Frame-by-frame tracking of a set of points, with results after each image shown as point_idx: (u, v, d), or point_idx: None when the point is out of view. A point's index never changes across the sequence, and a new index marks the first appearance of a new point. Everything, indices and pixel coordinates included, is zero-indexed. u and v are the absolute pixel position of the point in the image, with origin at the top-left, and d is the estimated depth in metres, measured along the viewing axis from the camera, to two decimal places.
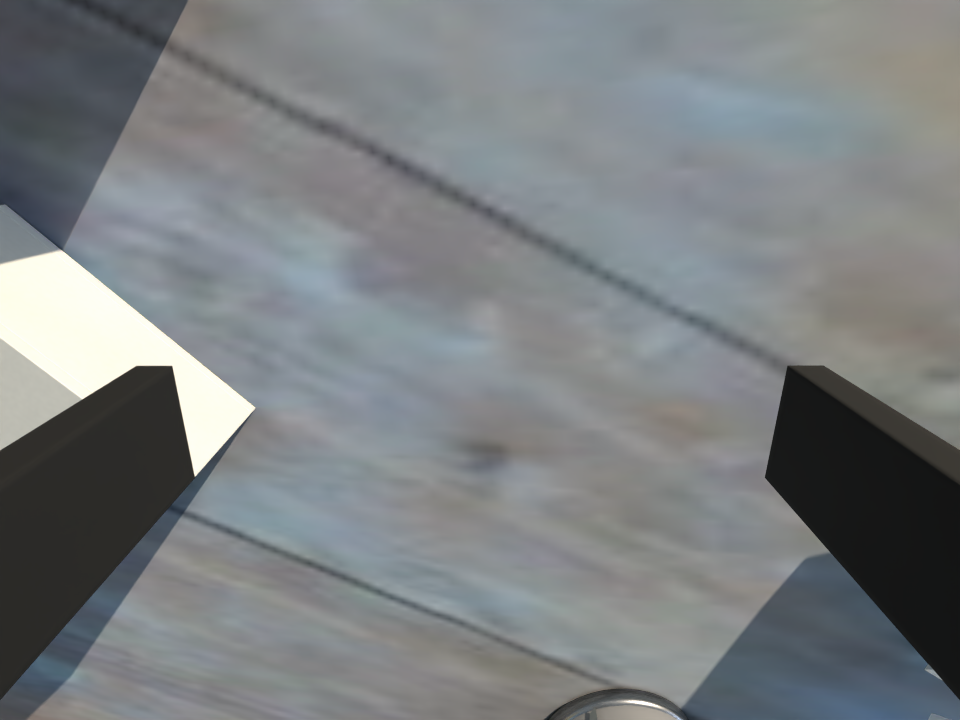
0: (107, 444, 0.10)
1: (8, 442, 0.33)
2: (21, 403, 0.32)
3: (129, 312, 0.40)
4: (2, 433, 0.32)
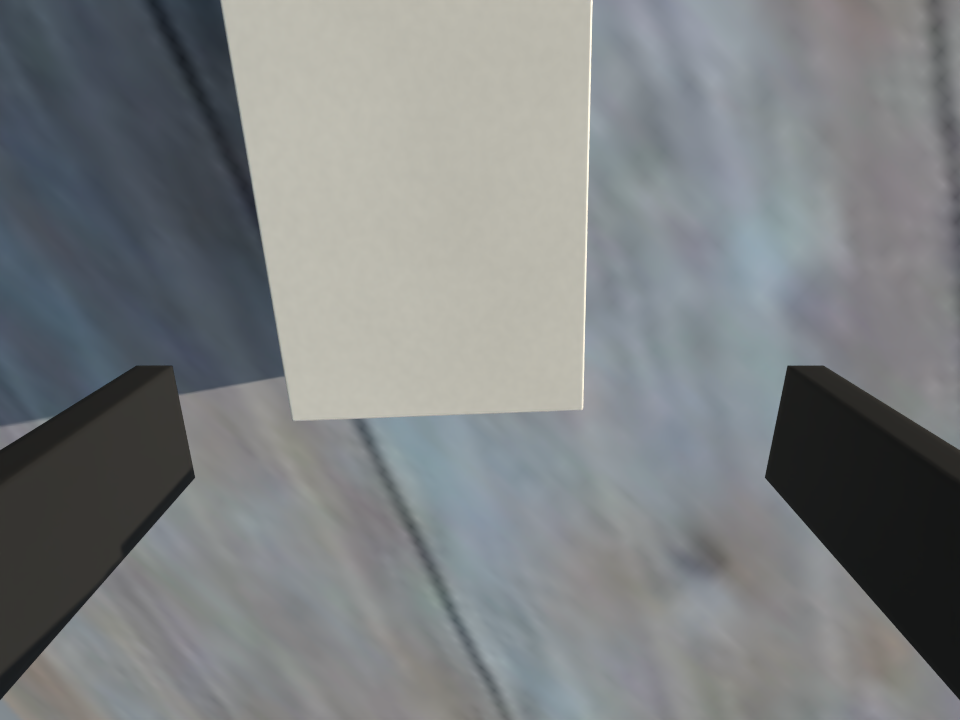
0: (106, 444, 0.10)
1: (413, 157, 0.17)
2: (500, 126, 0.17)
3: None
4: (420, 137, 0.17)
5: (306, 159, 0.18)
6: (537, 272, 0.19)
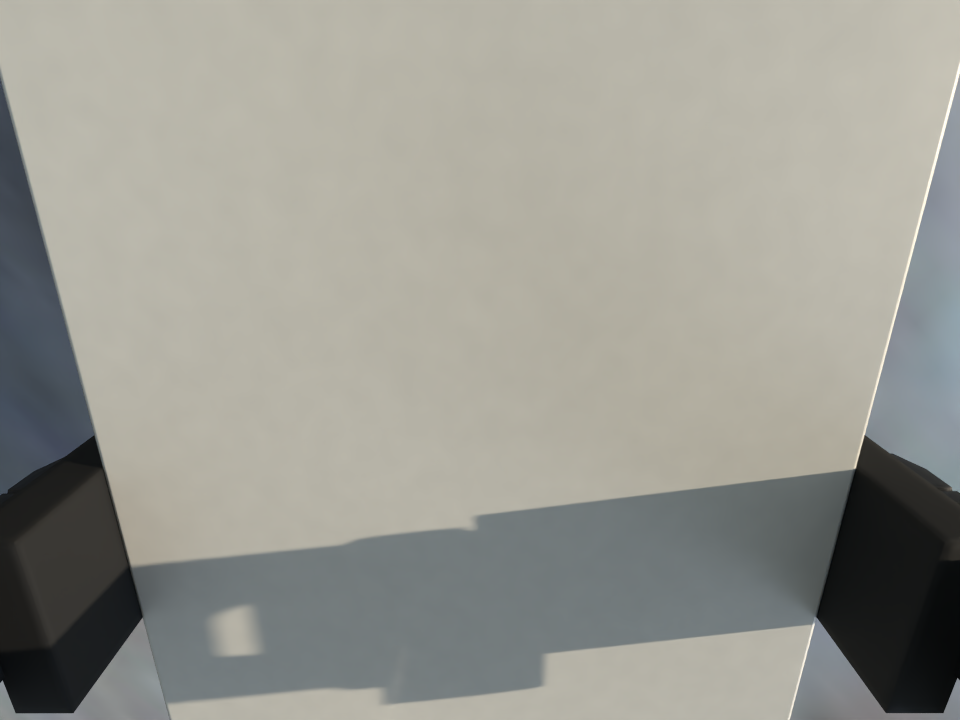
0: None
1: (468, 177, 0.07)
2: (711, 105, 0.06)
3: None
4: (490, 126, 0.06)
5: (182, 172, 0.07)
6: (744, 461, 0.08)
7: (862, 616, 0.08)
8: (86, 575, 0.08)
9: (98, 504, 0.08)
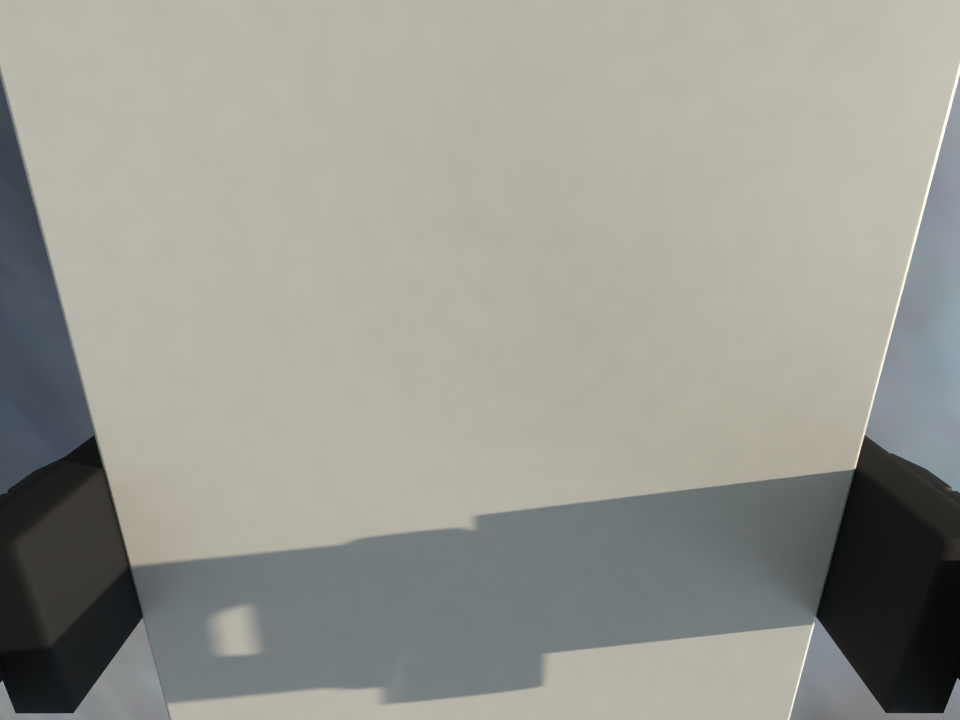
0: None
1: (468, 178, 0.07)
2: (712, 106, 0.06)
3: None
4: (491, 127, 0.06)
5: (182, 172, 0.07)
6: (744, 461, 0.08)
7: (862, 616, 0.08)
8: (86, 575, 0.08)
9: (98, 504, 0.08)
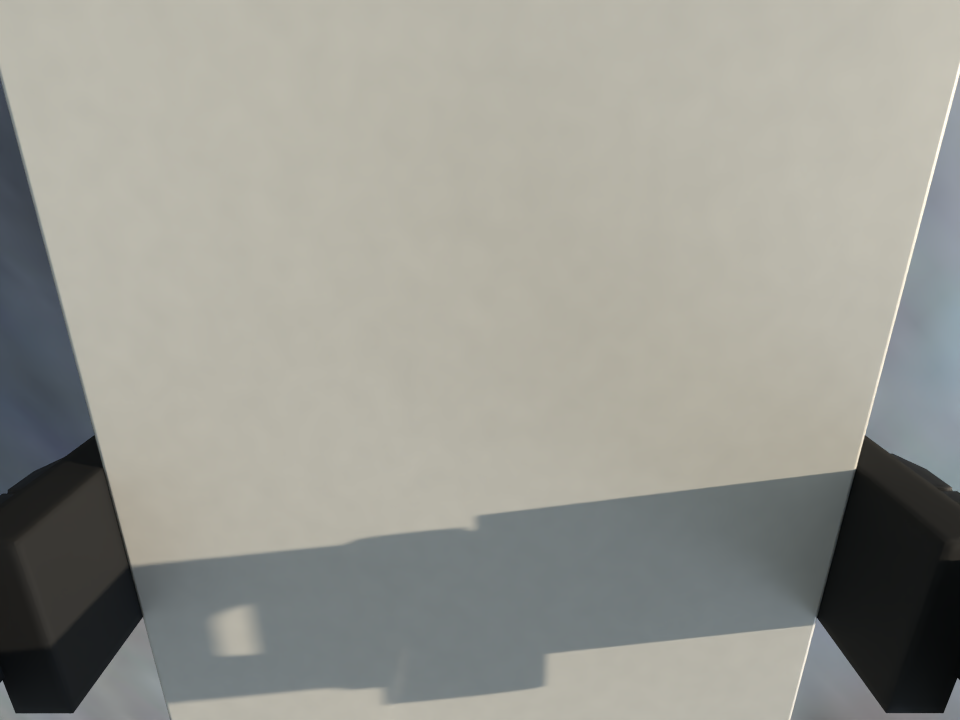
0: None
1: (467, 177, 0.07)
2: (711, 105, 0.06)
3: None
4: (489, 126, 0.06)
5: (182, 172, 0.07)
6: (744, 461, 0.08)
7: (862, 616, 0.08)
8: (86, 575, 0.08)
9: (98, 504, 0.08)
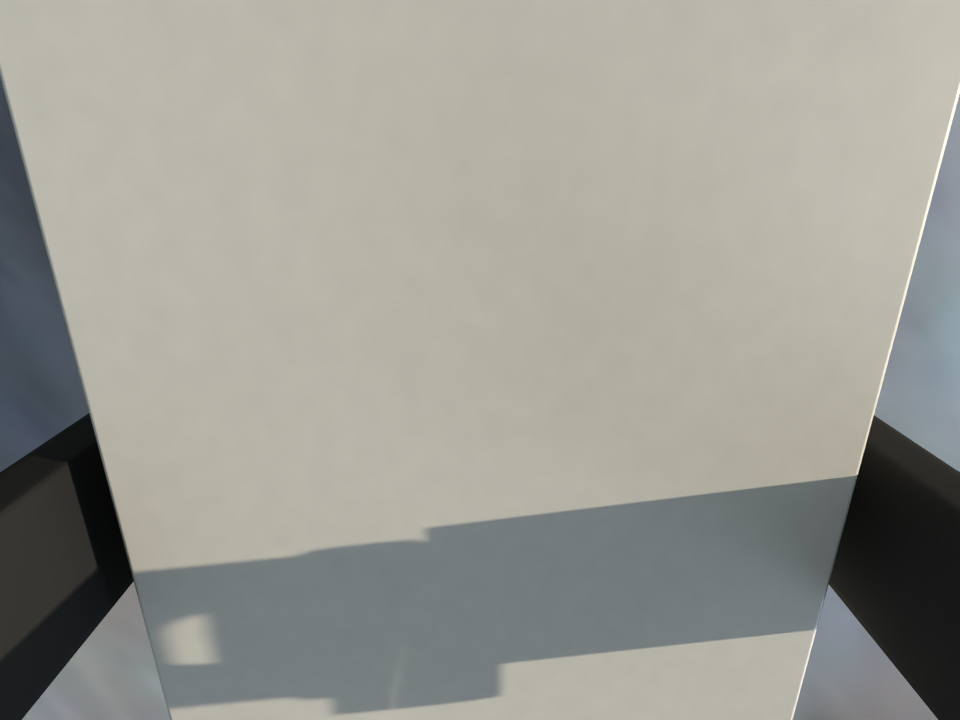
0: None
1: (471, 174, 0.07)
2: (716, 102, 0.06)
3: None
4: (493, 123, 0.06)
5: (183, 168, 0.07)
6: (747, 460, 0.08)
7: (929, 641, 0.07)
8: (17, 598, 0.07)
9: (32, 522, 0.07)
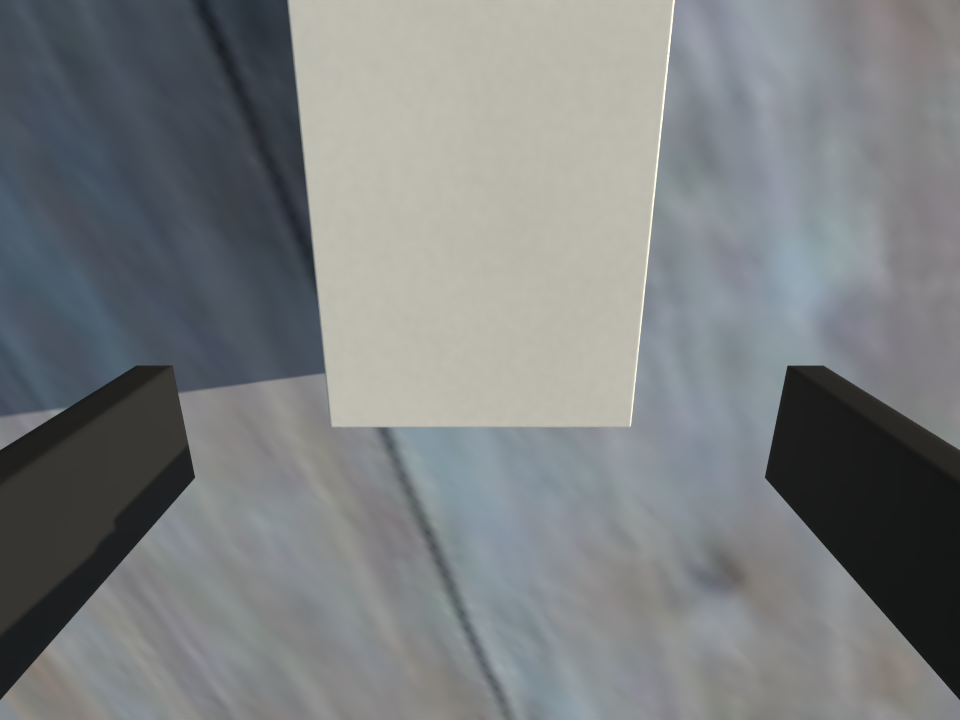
0: (107, 444, 0.10)
1: (476, 160, 0.17)
2: (569, 133, 0.17)
3: None
4: (485, 141, 0.17)
5: (364, 158, 0.17)
6: (595, 285, 0.18)
7: None
8: None
9: None
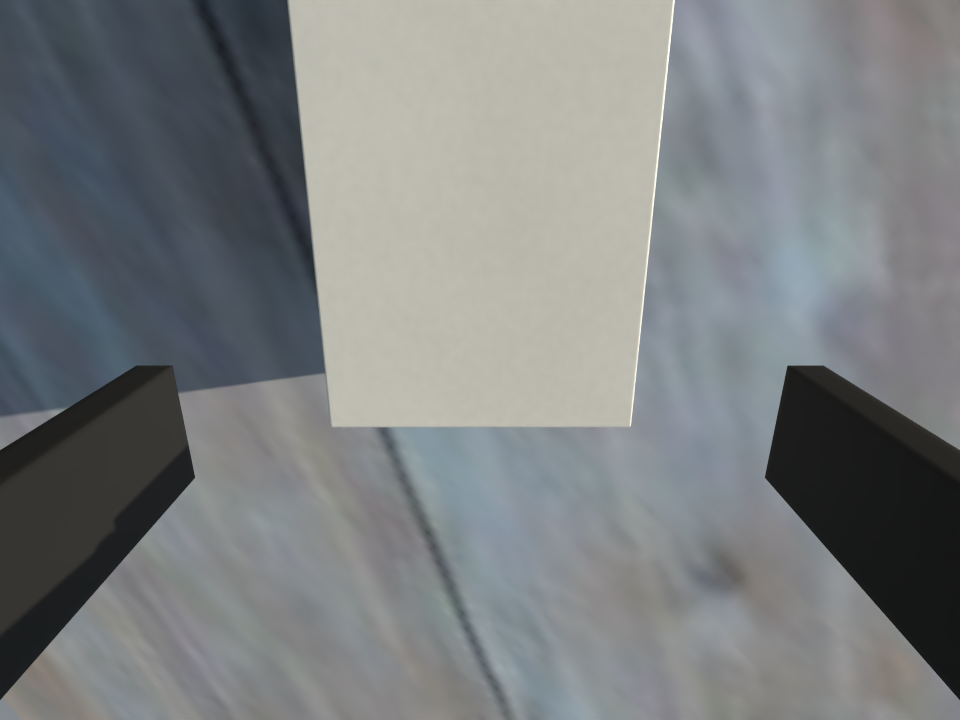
0: (107, 444, 0.10)
1: (476, 161, 0.17)
2: (569, 133, 0.17)
3: None
4: (485, 141, 0.17)
5: (364, 158, 0.17)
6: (595, 285, 0.18)
7: None
8: None
9: None
